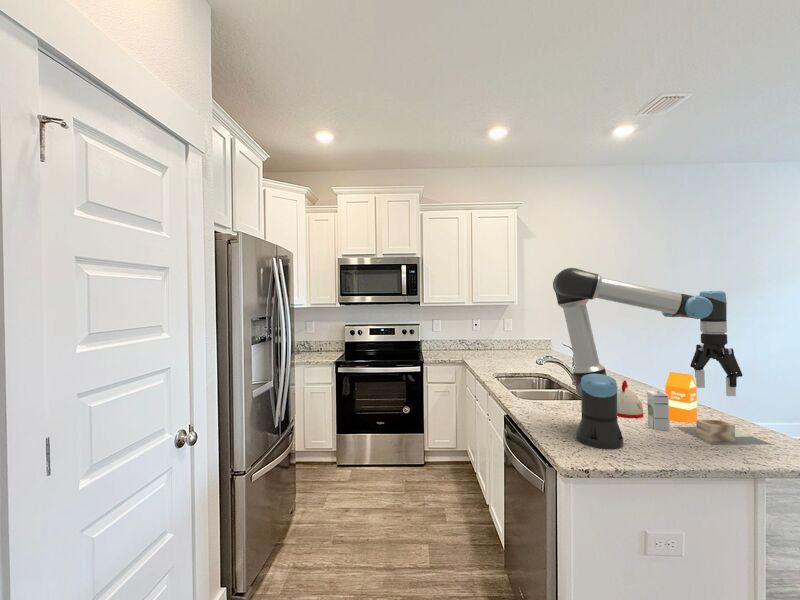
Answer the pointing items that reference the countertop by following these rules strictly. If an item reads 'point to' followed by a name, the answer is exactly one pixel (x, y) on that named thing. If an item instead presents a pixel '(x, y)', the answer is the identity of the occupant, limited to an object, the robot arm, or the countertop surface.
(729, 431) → the maple block
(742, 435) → the rubber mat
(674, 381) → the orange juice
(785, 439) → the countertop surface
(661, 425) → the syrup box
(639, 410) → the kitchen timer
